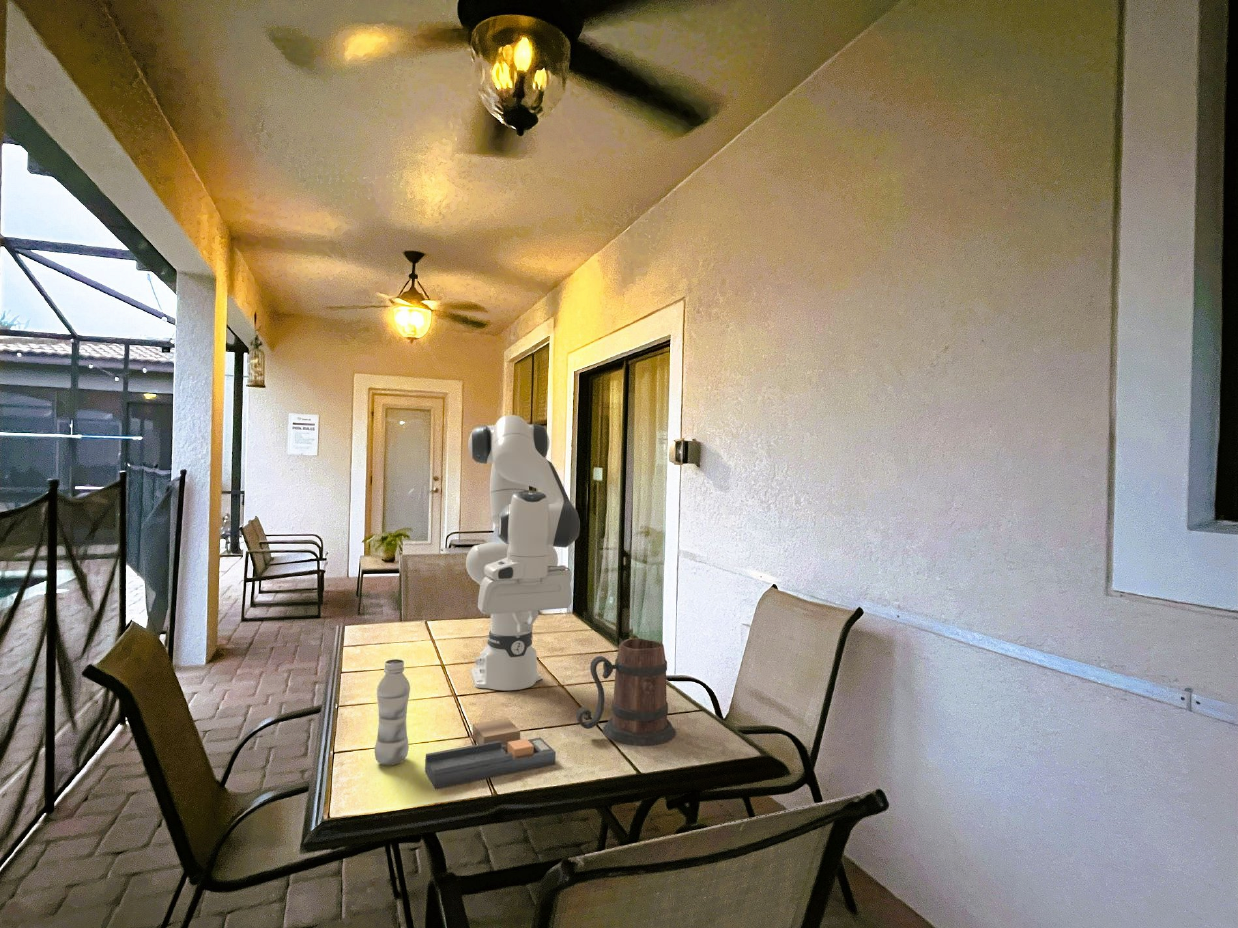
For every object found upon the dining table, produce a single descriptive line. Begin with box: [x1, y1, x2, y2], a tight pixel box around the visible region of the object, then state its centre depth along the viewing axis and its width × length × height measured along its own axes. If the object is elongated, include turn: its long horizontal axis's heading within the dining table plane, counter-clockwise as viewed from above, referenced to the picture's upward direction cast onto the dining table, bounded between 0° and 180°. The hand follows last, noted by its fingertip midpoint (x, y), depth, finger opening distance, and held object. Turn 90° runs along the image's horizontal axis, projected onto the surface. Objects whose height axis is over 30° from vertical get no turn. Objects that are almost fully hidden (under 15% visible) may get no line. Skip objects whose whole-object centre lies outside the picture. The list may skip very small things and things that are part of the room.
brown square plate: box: [472, 717, 521, 745], centre depth 143 cm, size 8×8×3 cm
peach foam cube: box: [507, 738, 534, 757], centre depth 133 cm, size 4×4×4 cm
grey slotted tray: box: [424, 737, 557, 790], centre depth 130 cm, size 8×24×4 cm, turn 119°
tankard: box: [576, 637, 677, 747], centre depth 150 cm, size 24×17×20 cm
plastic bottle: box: [374, 658, 411, 766], centre depth 132 cm, size 6×7×20 cm
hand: (524, 631), depth 141 cm, fingers closed
